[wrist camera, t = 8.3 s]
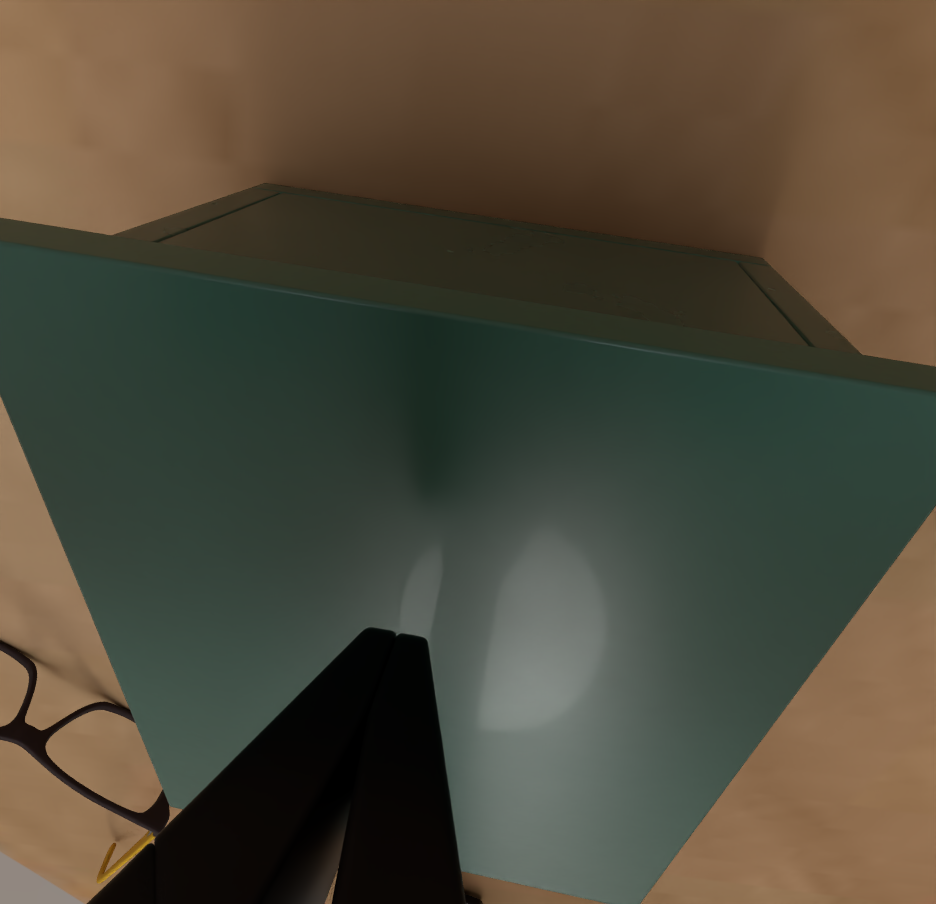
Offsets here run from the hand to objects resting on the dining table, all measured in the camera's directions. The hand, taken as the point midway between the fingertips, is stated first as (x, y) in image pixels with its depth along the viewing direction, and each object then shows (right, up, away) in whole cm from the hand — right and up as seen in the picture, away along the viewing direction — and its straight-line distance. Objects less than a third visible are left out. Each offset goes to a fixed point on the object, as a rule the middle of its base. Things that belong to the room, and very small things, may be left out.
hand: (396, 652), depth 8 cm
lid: (0, -1, +4) cm, 4 cm away
